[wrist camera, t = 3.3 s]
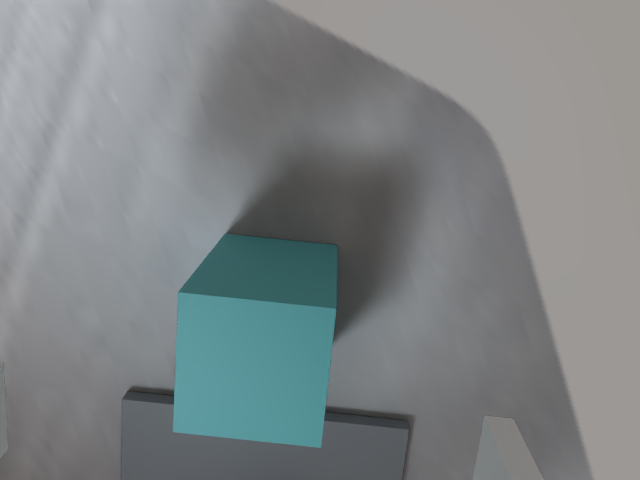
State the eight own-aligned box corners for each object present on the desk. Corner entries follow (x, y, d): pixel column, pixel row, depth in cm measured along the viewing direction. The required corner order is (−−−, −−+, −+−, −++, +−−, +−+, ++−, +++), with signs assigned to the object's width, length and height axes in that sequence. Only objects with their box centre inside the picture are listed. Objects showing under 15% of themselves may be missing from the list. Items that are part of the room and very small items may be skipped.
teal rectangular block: (219, 337, 28) (172, 432, 20) (225, 233, 27) (178, 292, 19) (326, 348, 28) (320, 447, 20) (337, 245, 27) (336, 308, 19)
